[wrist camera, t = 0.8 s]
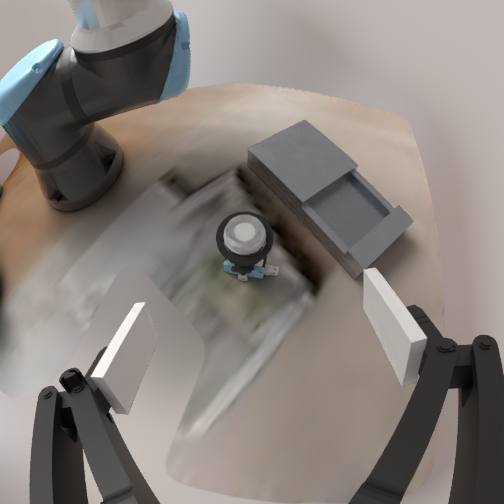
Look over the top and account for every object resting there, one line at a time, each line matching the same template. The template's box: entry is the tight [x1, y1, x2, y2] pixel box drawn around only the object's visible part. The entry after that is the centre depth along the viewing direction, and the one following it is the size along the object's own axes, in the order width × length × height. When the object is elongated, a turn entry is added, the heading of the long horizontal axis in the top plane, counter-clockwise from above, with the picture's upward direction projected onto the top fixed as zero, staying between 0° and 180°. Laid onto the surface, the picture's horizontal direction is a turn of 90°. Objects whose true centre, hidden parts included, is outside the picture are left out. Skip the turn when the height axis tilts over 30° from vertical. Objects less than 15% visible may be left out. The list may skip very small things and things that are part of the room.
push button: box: [216, 212, 279, 281], centre depth 31 cm, size 7×5×10 cm
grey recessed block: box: [248, 120, 414, 279], centre depth 38 cm, size 22×11×4 cm, turn 38°
